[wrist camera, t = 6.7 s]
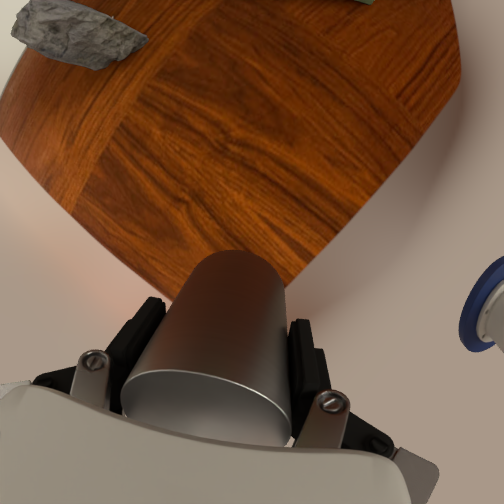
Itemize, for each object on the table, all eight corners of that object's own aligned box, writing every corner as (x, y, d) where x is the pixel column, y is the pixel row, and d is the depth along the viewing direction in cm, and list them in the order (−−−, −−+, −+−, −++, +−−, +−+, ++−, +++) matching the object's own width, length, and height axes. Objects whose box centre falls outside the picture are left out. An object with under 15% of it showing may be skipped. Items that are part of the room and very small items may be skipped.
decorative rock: (161, 46, 22) (86, -13, 8) (121, 91, 24) (26, 65, 10) (89, 4, 18) (22, -32, 4) (59, 42, 20) (-17, 21, 6)
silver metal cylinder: (292, 256, 14) (312, 387, 6) (276, 339, 16) (274, 470, 8) (189, 243, 15) (102, 349, 6) (188, 326, 17) (137, 444, 8)
